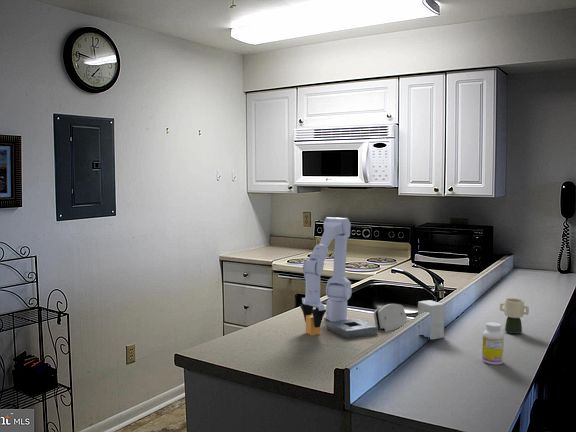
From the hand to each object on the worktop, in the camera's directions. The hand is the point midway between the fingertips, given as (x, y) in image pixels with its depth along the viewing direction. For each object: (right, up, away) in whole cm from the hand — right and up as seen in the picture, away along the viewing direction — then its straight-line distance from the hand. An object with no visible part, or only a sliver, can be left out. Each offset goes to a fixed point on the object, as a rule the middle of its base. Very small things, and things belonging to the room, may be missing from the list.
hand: (312, 324), depth 216 cm
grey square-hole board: (+16, -3, +2) cm, 16 cm away
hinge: (+33, -3, +11) cm, 35 cm away
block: (0, -4, 0) cm, 4 cm away
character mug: (+79, -4, +1) cm, 79 cm away
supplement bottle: (+58, -6, -32) cm, 67 cm away
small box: (+45, -4, -3) cm, 45 cm away
